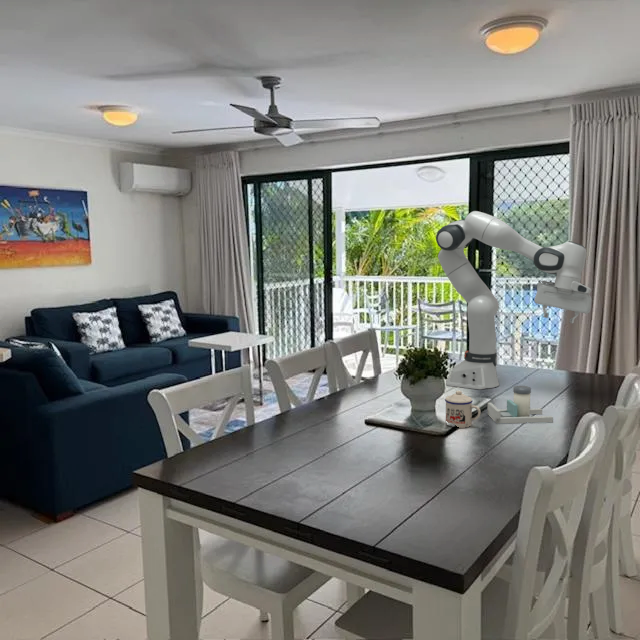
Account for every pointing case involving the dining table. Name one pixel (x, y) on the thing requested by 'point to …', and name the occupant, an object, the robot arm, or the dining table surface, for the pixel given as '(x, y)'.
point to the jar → (522, 400)
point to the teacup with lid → (460, 410)
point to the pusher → (510, 410)
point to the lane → (496, 416)
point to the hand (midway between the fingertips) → (558, 320)
